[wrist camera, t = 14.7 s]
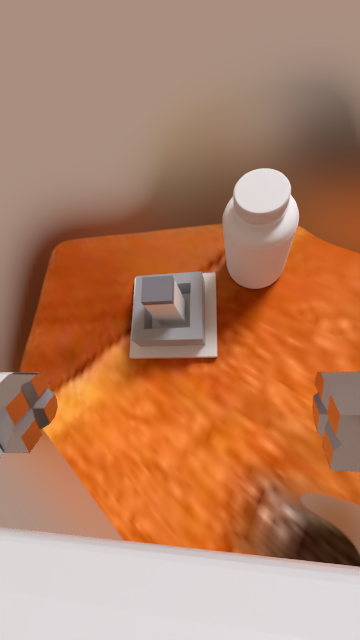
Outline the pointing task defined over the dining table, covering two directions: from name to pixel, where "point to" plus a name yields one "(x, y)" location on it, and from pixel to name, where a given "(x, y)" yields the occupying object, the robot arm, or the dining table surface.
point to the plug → (163, 300)
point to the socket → (183, 338)
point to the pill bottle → (259, 228)
